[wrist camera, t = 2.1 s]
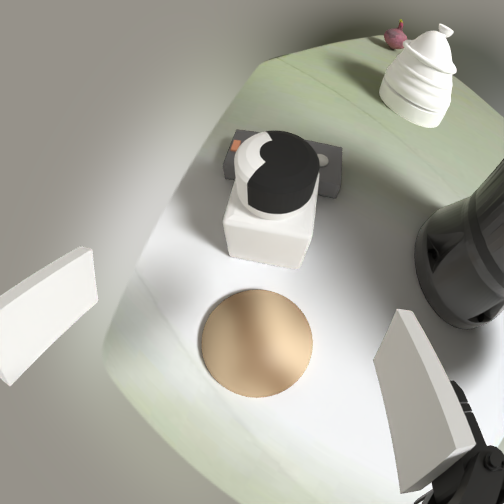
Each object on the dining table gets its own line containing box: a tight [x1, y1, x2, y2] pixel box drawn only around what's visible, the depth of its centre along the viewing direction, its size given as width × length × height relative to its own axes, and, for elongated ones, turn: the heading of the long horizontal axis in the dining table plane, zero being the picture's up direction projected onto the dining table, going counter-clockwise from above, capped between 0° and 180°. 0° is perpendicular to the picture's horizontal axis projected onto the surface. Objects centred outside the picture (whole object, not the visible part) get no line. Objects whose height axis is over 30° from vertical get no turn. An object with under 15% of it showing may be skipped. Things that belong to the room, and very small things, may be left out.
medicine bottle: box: [222, 131, 320, 270], centre depth 24 cm, size 7×7×12 cm
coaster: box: [201, 290, 313, 398], centre depth 25 cm, size 10×10×1 cm
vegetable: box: [384, 20, 407, 49], centre depth 46 cm, size 6×6×10 cm
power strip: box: [223, 130, 342, 198], centre depth 32 cm, size 13×6×3 cm, turn 78°
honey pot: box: [379, 24, 456, 128], centre depth 32 cm, size 13×13×18 cm
